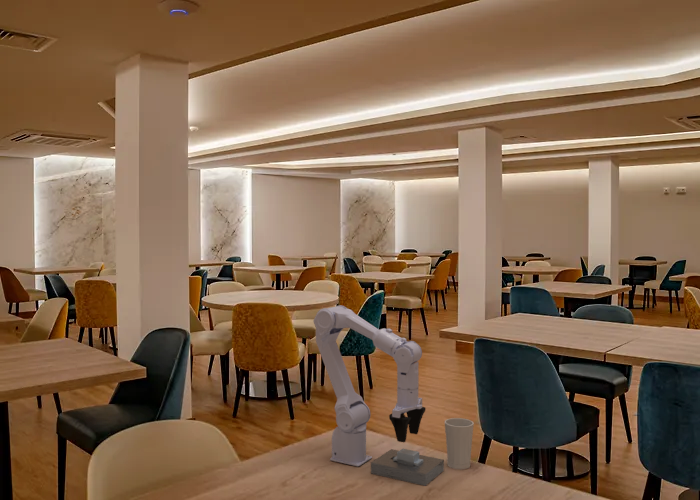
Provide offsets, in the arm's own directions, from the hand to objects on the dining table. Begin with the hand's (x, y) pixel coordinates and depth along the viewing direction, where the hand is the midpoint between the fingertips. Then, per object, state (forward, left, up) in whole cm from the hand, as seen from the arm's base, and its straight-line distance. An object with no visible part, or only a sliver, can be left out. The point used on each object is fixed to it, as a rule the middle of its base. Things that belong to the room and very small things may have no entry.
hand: (407, 437), depth 169 cm
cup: (+10, +12, -10) cm, 18 cm away
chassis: (0, 0, -9) cm, 9 cm away
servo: (0, 0, -9) cm, 9 cm away
